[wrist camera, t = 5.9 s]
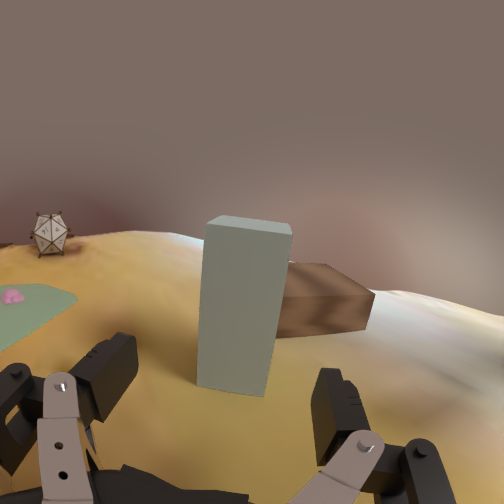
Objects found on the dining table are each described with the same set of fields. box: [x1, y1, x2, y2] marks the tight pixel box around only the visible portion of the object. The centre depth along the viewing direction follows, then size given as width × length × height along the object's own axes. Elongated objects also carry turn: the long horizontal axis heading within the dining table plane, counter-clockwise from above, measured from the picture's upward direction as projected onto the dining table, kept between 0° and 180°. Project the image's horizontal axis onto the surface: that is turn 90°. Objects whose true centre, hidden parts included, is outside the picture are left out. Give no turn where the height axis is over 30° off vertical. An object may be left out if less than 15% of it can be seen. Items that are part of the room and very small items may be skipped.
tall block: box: [197, 215, 293, 397], centre depth 19 cm, size 5×5×12 cm
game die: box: [30, 211, 72, 258], centre depth 40 cm, size 9×8×10 cm
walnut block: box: [275, 262, 375, 339], centre depth 34 cm, size 12×12×5 cm
